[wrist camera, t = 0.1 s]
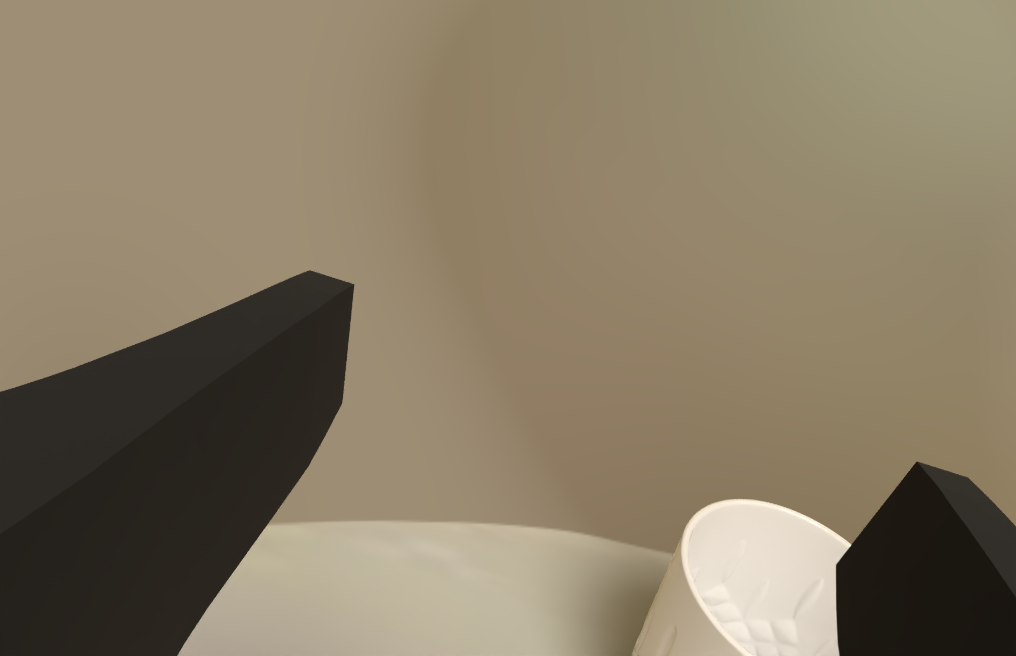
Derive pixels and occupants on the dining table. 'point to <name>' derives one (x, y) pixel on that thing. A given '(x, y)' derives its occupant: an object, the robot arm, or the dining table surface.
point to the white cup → (747, 586)
